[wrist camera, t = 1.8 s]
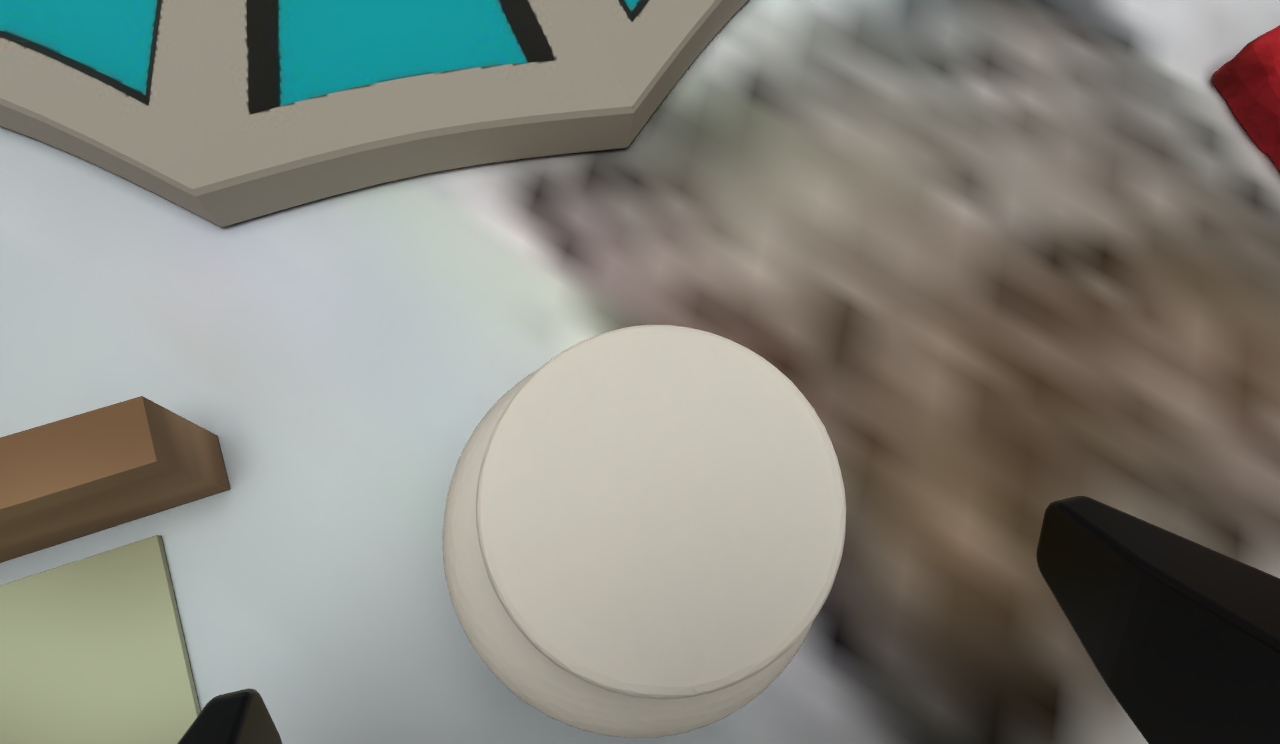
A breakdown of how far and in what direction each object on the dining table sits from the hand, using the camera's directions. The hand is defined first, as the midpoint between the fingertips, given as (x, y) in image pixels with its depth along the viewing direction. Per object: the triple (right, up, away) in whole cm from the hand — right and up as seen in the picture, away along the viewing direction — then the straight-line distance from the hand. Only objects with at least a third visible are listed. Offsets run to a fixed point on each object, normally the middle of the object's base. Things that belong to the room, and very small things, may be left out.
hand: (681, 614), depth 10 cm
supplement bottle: (-1, -1, +9) cm, 9 cm away
